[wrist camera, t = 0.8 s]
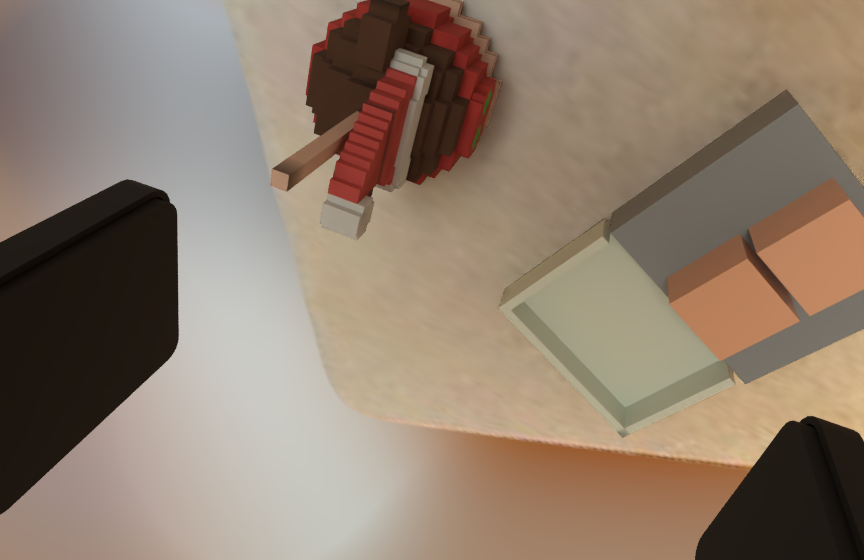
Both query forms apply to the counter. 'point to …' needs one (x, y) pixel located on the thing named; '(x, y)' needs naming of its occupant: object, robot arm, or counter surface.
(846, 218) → the tile
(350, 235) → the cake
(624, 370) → the sage bin
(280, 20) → the counter surface
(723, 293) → the tile
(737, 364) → the slate board
